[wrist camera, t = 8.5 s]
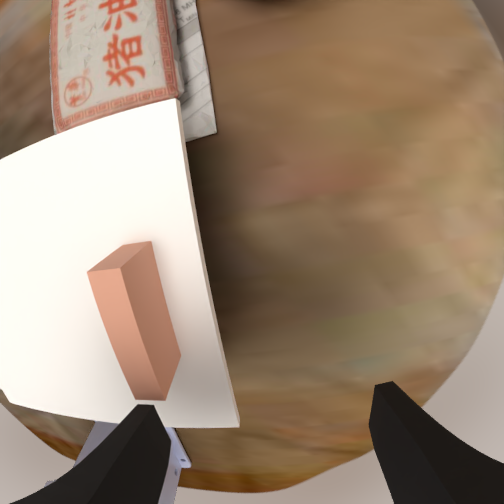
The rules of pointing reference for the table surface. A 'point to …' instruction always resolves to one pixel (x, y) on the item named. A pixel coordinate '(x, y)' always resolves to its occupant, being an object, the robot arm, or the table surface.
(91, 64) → the packaged product
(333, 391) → the table surface
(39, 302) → the carton lid
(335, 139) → the table surface
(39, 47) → the table surface
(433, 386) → the table surface
